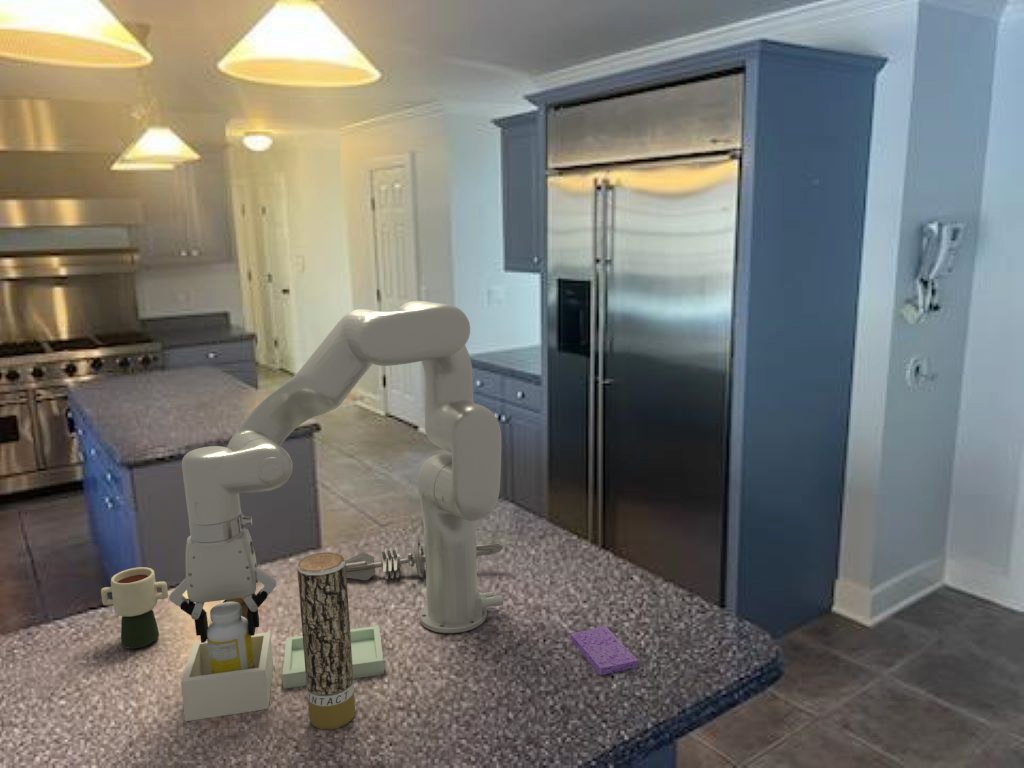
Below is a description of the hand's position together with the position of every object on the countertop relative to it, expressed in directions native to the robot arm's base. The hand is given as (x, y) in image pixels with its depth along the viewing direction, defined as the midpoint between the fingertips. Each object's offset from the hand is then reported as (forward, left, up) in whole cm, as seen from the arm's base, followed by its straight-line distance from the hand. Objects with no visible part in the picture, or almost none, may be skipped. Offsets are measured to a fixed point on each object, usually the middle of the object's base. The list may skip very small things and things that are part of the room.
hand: (228, 634), depth 122 cm
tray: (-16, -5, -10) cm, 19 cm away
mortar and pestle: (+2, -27, -10) cm, 29 cm away
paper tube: (-15, +11, -10) cm, 21 cm away
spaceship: (-34, -35, -10) cm, 50 cm away
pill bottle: (0, 0, -7) cm, 7 cm away
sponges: (-61, +4, -11) cm, 62 cm away
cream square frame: (0, 0, -10) cm, 10 cm away
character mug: (+18, -21, -10) cm, 30 cm away
